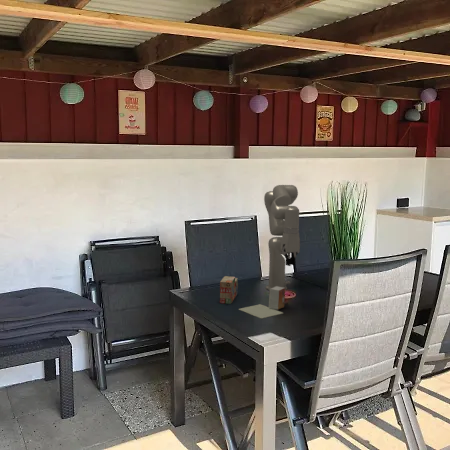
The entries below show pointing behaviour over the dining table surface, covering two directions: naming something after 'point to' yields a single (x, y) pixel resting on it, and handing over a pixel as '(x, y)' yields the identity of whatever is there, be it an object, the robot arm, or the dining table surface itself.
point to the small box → (276, 297)
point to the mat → (260, 311)
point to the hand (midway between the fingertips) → (290, 264)
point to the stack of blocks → (228, 289)
